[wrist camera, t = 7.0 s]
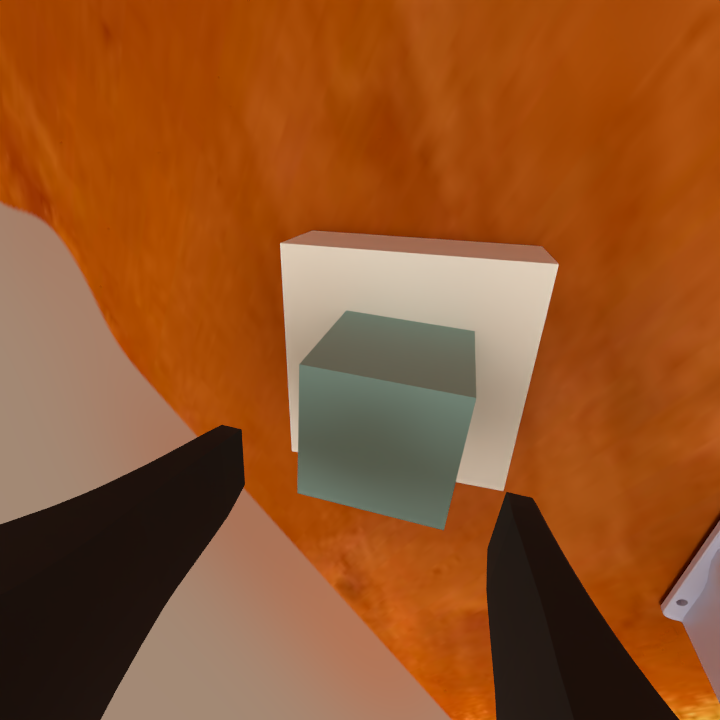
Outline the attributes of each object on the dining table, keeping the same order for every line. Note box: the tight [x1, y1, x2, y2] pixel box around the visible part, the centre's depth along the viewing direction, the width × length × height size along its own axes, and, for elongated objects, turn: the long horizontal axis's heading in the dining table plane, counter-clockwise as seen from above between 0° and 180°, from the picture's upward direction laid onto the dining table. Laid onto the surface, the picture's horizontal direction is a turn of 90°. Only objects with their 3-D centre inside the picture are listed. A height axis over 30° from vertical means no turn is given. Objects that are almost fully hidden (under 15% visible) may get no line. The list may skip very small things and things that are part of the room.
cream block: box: [280, 231, 559, 491], centre depth 18 cm, size 10×10×4 cm
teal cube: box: [298, 310, 476, 530], centre depth 14 cm, size 5×5×5 cm
